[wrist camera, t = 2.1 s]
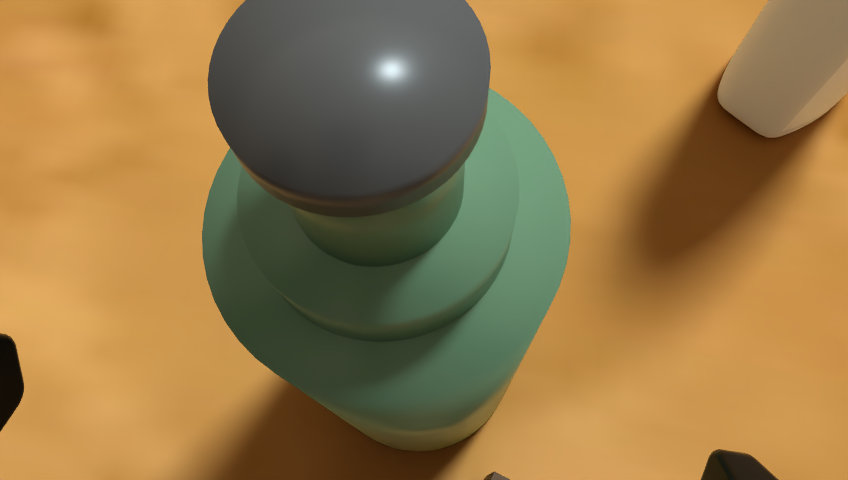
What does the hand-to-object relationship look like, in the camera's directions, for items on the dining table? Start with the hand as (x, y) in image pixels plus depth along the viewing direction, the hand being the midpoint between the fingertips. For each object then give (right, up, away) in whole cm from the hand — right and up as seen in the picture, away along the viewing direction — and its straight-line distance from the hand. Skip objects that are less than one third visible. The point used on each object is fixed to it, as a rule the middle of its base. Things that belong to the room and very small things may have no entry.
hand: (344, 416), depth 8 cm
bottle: (+1, -1, +10) cm, 10 cm away
